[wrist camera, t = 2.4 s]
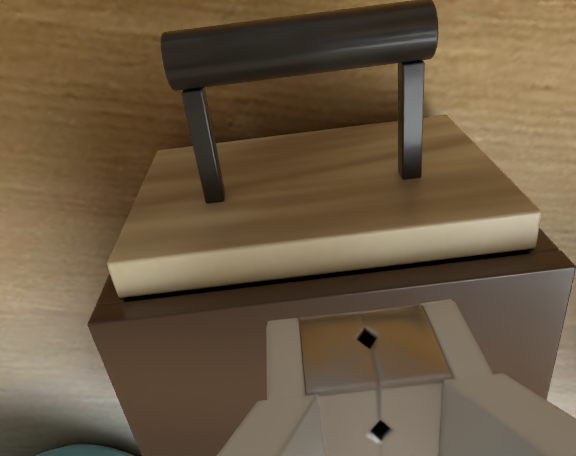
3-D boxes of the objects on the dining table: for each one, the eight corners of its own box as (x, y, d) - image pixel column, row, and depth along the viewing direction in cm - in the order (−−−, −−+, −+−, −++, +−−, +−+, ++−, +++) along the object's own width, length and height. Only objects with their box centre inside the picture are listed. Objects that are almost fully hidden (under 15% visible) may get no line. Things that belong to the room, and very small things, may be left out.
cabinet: (153, 170, 21) (86, 324, 13) (453, 133, 21) (577, 266, 13) (216, 404, 29) (199, 596, 21) (438, 378, 29) (511, 562, 20)
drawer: (121, 14, 17) (34, 71, 11) (454, -28, 17) (578, 2, 10) (218, 387, 27) (205, 541, 20) (434, 362, 27) (492, 509, 20)
